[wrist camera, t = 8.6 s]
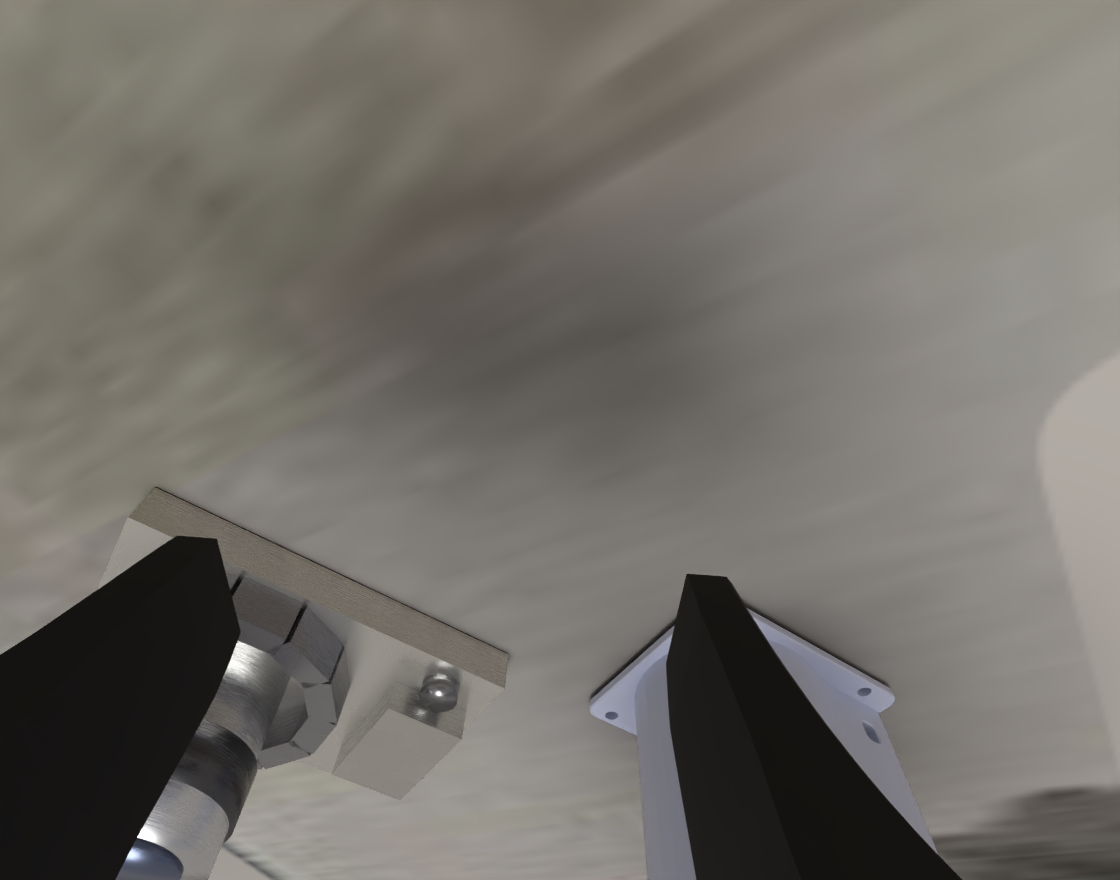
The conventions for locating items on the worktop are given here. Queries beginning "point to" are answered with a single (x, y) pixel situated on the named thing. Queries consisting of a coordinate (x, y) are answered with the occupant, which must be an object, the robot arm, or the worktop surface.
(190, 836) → the lens
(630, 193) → the worktop surface
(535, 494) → the worktop surface
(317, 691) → the octagonal collar plate
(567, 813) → the worktop surface
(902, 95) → the worktop surface
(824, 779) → the robot arm
